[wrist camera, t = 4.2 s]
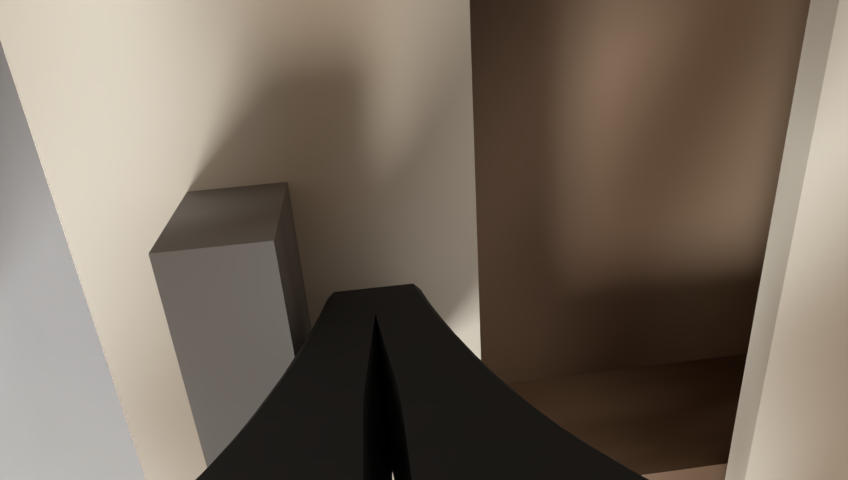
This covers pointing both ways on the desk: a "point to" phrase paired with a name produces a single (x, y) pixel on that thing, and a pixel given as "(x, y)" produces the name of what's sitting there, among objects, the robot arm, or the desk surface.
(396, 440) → the robot arm
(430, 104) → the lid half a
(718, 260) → the walnut box
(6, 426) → the desk surface
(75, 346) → the desk surface
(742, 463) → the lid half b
